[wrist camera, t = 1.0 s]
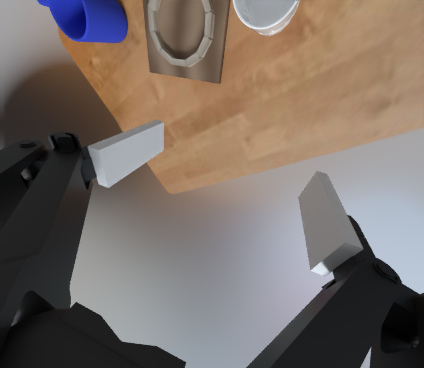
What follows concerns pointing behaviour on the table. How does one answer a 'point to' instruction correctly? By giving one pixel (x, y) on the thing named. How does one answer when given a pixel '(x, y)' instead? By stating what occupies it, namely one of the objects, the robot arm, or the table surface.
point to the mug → (89, 19)
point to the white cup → (266, 14)
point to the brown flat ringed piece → (187, 37)
